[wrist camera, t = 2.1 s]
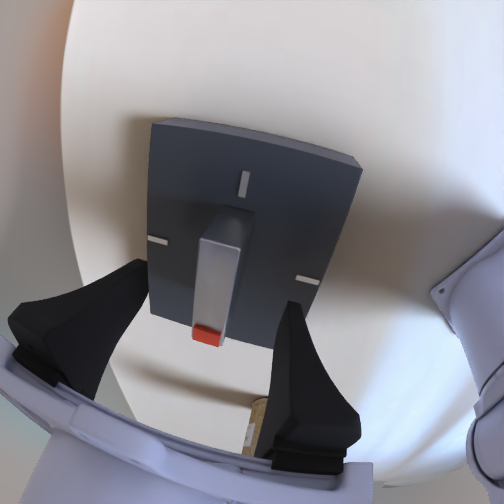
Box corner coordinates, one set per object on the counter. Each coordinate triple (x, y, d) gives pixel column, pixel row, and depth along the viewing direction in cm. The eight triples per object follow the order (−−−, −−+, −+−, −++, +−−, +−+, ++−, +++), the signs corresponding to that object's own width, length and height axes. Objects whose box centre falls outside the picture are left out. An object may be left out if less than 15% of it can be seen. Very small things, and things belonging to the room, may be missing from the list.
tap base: (175, 117, 16) (150, 123, 13) (353, 156, 15) (363, 169, 12) (165, 290, 23) (149, 314, 21) (292, 325, 23) (289, 354, 20)
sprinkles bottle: (244, 400, 31) (218, 501, 19) (277, 393, 29) (255, 505, 17) (266, 415, 32) (246, 509, 21) (296, 410, 30) (282, 511, 19)
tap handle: (222, 204, 15) (196, 241, 11) (256, 212, 15) (239, 252, 11) (210, 295, 18) (189, 340, 15) (236, 303, 18) (220, 350, 15)
